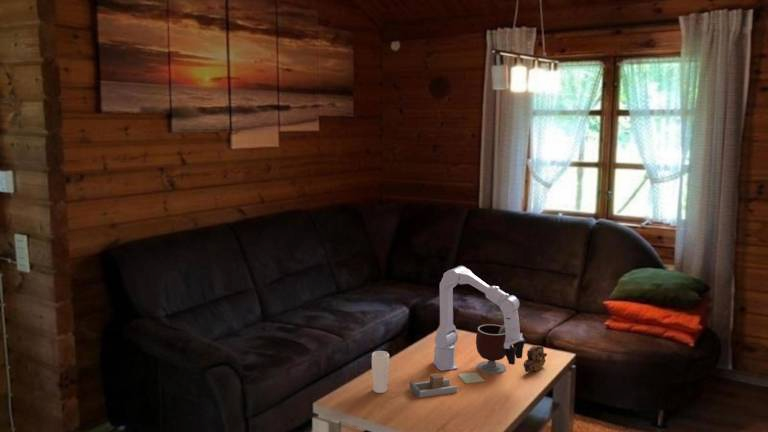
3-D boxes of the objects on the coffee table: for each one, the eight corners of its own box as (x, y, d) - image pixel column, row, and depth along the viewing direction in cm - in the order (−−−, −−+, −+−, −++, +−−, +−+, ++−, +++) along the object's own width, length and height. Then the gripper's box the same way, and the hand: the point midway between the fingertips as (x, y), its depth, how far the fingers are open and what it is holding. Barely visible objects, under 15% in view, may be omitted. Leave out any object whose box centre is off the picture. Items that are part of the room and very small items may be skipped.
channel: (409, 389, 246) (409, 381, 246) (448, 383, 251) (448, 376, 251) (417, 397, 239) (417, 389, 238) (456, 392, 244) (457, 384, 243)
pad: (457, 375, 259) (457, 374, 259) (475, 373, 262) (475, 372, 262) (466, 383, 252) (466, 382, 252) (484, 381, 254) (484, 380, 254)
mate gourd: (483, 376, 259) (485, 329, 256) (469, 363, 272) (471, 318, 269) (517, 372, 263) (519, 326, 260) (502, 359, 276) (504, 316, 273)
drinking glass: (391, 388, 246) (391, 352, 244) (385, 395, 240) (386, 358, 238) (374, 385, 249) (375, 349, 246) (368, 392, 242) (369, 355, 240)
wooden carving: (532, 377, 259) (533, 354, 257) (522, 374, 262) (523, 351, 260) (548, 365, 272) (549, 342, 270) (538, 362, 274) (539, 340, 273)
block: (429, 388, 247) (429, 374, 246) (438, 387, 248) (439, 373, 247) (433, 393, 243) (433, 378, 242) (442, 391, 244) (443, 377, 243)
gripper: (514, 333, 239) (518, 367, 240) (528, 322, 251) (531, 356, 252) (497, 332, 243) (501, 366, 244) (511, 322, 255) (515, 354, 256)
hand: (515, 361), depth 249 cm, fingers open, 7 cm apart
